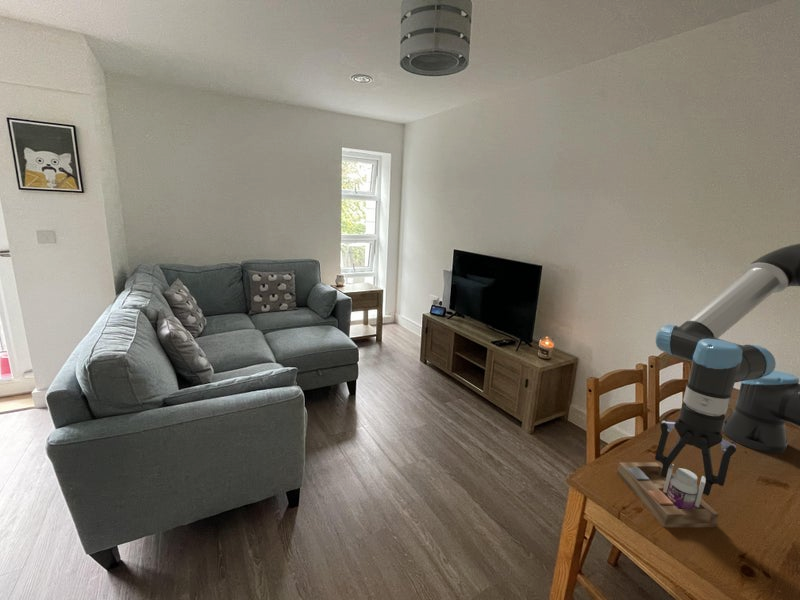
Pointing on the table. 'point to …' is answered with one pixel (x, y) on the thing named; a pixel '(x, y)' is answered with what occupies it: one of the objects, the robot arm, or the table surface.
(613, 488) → the table surface
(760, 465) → the table surface
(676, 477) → the pill bottle
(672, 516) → the socket block
